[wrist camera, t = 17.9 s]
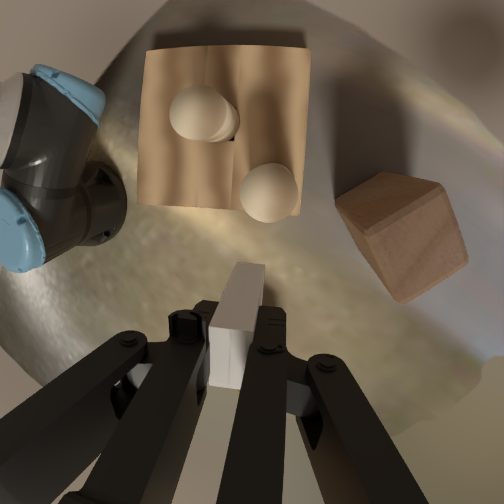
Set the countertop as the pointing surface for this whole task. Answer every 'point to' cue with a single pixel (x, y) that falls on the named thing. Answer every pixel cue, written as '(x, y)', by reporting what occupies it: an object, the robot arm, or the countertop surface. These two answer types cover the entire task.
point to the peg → (203, 115)
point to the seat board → (246, 139)
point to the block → (404, 232)
